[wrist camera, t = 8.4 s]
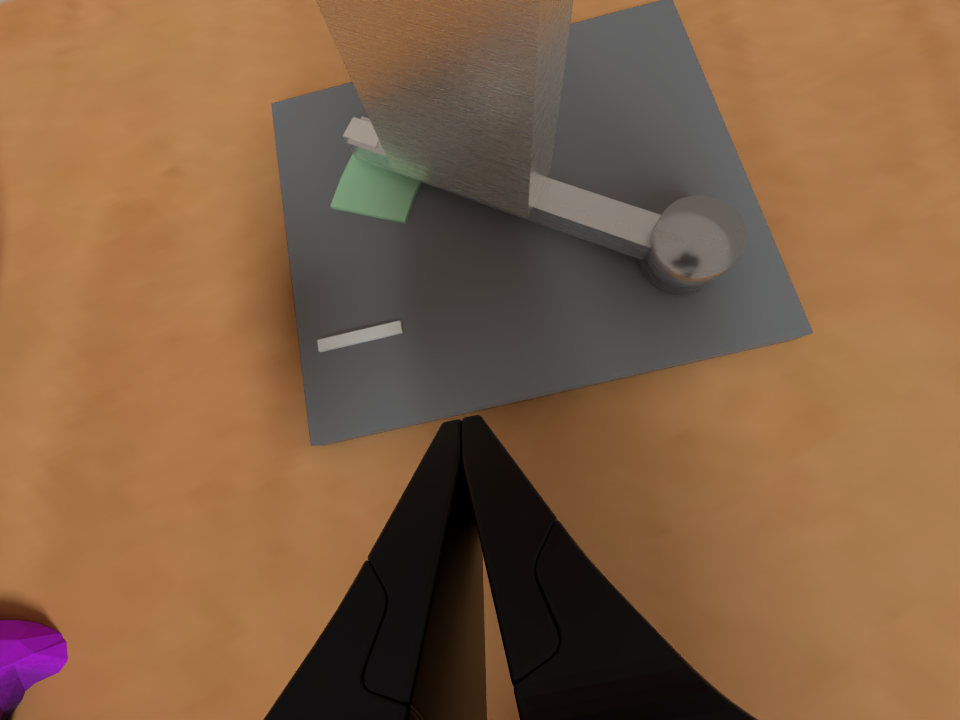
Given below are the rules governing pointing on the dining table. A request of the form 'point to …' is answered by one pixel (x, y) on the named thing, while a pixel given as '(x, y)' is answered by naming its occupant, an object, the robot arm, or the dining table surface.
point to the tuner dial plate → (517, 250)
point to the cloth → (26, 659)
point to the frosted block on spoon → (504, 126)
